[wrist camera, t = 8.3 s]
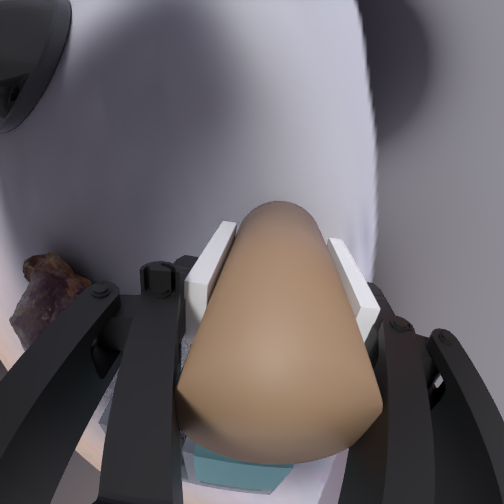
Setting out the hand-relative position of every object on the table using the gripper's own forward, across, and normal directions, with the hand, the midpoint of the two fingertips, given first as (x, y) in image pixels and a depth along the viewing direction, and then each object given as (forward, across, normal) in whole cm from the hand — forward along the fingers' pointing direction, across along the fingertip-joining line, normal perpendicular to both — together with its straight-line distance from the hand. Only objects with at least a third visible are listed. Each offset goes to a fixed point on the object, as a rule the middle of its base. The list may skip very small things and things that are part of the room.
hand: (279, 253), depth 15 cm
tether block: (+2, 0, -7) cm, 7 cm away
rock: (+3, -15, -9) cm, 18 cm away
